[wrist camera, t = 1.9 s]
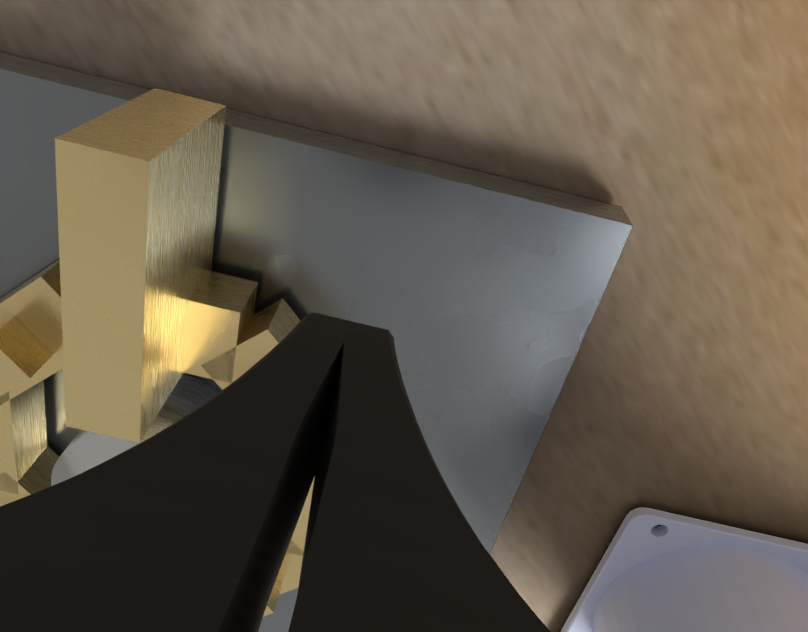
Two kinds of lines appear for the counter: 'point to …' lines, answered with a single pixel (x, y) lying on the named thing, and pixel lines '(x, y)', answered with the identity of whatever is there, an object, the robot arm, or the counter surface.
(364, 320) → the dark gray base plate
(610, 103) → the counter surface
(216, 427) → the robot arm
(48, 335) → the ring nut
